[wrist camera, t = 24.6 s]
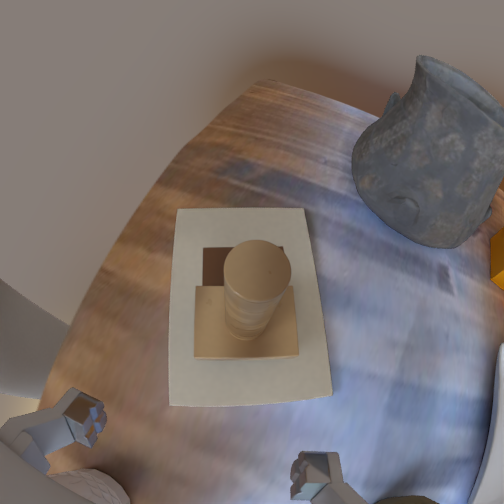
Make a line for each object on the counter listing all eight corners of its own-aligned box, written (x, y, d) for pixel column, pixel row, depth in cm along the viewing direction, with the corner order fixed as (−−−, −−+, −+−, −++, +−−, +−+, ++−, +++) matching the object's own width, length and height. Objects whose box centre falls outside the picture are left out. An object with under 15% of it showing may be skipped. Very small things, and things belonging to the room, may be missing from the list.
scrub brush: (199, 363, 22) (167, 330, 11) (200, 301, 25) (177, 216, 13) (288, 361, 23) (348, 326, 11) (283, 301, 25) (329, 218, 14)
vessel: (465, 301, 28) (576, 214, 10) (321, 228, 31) (392, 66, 14) (461, 193, 38) (519, 112, 21) (355, 135, 41) (393, 31, 24)
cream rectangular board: (171, 405, 21) (169, 405, 20) (178, 214, 30) (177, 208, 30) (329, 395, 22) (333, 395, 21) (301, 213, 32) (303, 207, 31)
